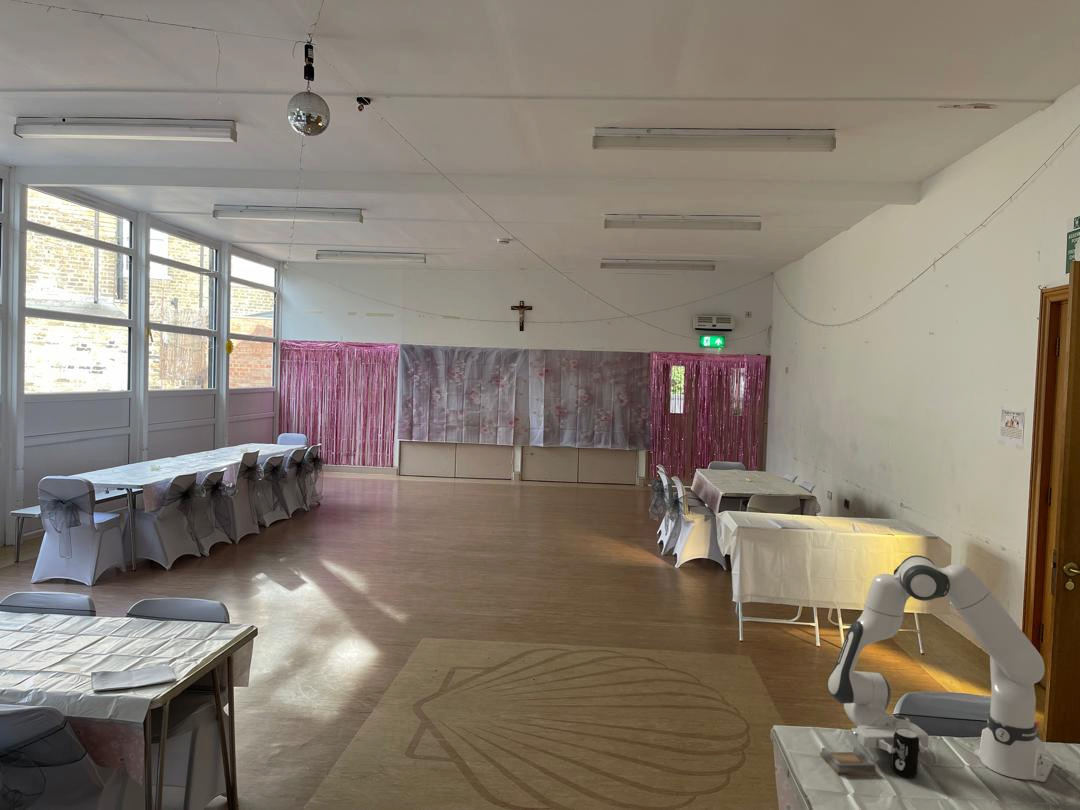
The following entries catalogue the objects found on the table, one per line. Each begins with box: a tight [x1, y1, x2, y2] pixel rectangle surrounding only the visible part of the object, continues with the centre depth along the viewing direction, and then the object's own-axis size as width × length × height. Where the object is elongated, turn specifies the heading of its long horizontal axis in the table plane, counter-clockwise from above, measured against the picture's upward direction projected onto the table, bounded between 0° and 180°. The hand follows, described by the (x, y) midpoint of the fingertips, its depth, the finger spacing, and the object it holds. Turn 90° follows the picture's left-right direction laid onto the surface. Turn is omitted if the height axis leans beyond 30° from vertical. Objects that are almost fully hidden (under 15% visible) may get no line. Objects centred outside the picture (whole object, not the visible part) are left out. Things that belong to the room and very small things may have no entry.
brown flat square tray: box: [819, 746, 876, 776], centre depth 213 cm, size 11×11×3 cm
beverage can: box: [891, 728, 920, 779], centre depth 209 cm, size 7×7×12 cm
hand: (907, 750), depth 208 cm, fingers open, 7 cm apart
